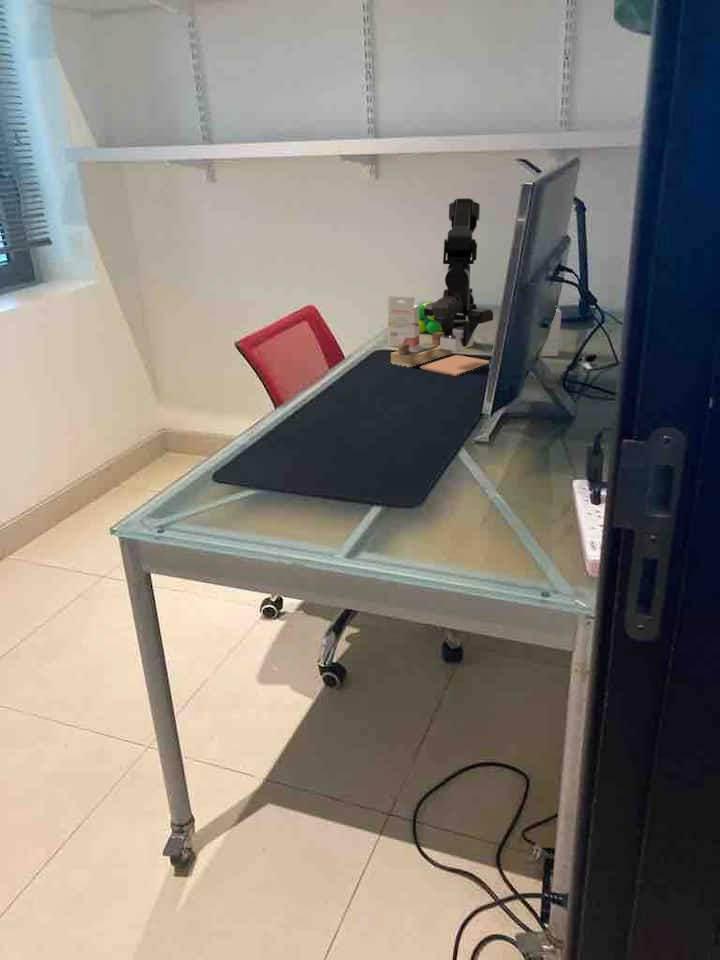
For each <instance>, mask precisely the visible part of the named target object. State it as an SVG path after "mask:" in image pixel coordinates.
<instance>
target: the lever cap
mask: <svg viewBox="0 0 720 960" xmlns="http://www.w3.org/2000/svg"><path fill="white" fill-rule="evenodd" d="M473 341H474V333H473V334H472V336H471V338H470V340H469V343H468V345H467V346H466V347H464V346H463V327H457V328H453V329H452V334H449V335H446V336H442V337H440V348H441V349H446V350H451V352H457V351H460V350H463V349H466V348H469V347H472V346H474V344H473Z"/></svg>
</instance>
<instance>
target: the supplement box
mask: <svg viewBox="0 0 720 960" xmlns="http://www.w3.org/2000/svg"><path fill="white" fill-rule="evenodd" d="M556 307H557V309H556V313H555V316H554V319H553V321H552V324H551V329H550V333H549V337H548V339H547V342H546V344H545V347H544V349H543V352H542V356H541V357H559V351H560V350H559V349H560V348H559V347H560V336H561V324H562V323H561V322H562V311H561V309H560V308H559V307H558V306H556Z"/></svg>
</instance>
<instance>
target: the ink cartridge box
mask: <svg viewBox="0 0 720 960" xmlns="http://www.w3.org/2000/svg"><path fill="white" fill-rule="evenodd" d="M387 301H388V303H387V305H388V306H387V338H388V339H387V341H388V343H387V345H388V346H389V347H399V344H409V347H412V346H415V345H419V344H420V333H419V305H420V304H415V297H414V296H388V300H387ZM398 301H403V302H398Z"/></svg>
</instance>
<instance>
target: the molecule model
mask: <svg viewBox="0 0 720 960" xmlns="http://www.w3.org/2000/svg"><path fill="white" fill-rule="evenodd" d="M430 303H431V302H425V303H423V304H418V305H419V334H422V333H425V332H426V331H427V332H428V334H430V335H432V334H433V333H436V332H443V330H442V327H441V325H440V323H439V322H438V321H436V320H434V319H433V318H434V315H433V316H426V315H424V308H425V306H426V304H430Z"/></svg>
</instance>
